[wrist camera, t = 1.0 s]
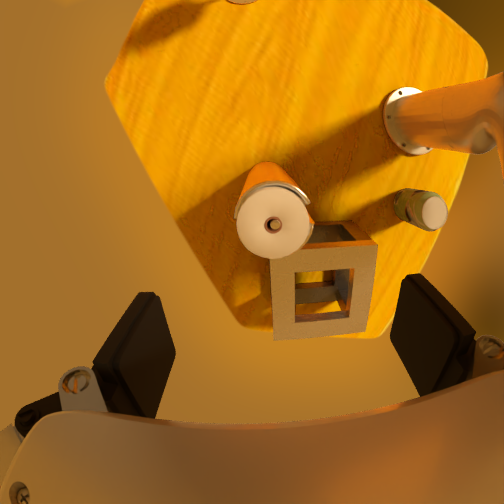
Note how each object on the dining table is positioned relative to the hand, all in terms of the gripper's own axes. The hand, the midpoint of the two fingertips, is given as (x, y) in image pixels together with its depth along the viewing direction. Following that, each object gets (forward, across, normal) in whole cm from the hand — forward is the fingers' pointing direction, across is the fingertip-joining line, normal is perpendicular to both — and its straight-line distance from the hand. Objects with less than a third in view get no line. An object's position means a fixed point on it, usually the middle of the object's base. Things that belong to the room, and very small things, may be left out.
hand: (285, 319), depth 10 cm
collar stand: (+37, -8, +15) cm, 40 cm away
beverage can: (+37, -26, +4) cm, 45 cm away
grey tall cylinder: (+37, 0, 0) cm, 37 cm away
